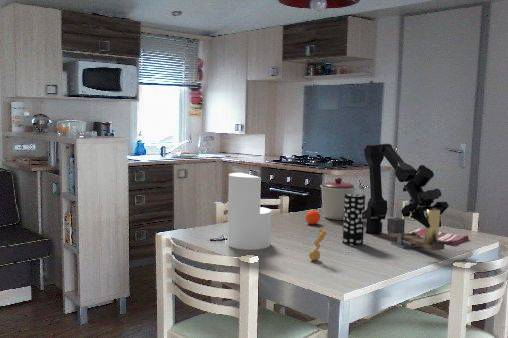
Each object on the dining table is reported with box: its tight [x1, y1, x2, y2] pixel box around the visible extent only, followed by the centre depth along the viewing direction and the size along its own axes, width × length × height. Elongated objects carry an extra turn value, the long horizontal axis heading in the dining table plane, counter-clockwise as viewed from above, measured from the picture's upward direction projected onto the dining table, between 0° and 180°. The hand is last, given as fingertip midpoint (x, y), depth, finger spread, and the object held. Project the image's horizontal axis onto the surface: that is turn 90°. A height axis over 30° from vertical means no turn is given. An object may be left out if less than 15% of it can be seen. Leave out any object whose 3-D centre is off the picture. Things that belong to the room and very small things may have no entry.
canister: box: [319, 176, 357, 221], centre depth 263 cm, size 18×18×21 cm
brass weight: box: [424, 208, 441, 245], centre depth 197 cm, size 5×5×13 cm
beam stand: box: [390, 232, 423, 250], centre depth 211 cm, size 8×10×5 cm
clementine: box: [305, 209, 321, 225], centre depth 248 cm, size 8×7×7 cm
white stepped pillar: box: [227, 172, 272, 251], centre depth 206 cm, size 17×17×28 cm
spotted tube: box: [342, 193, 366, 247], centre depth 212 cm, size 8×8×20 cm
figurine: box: [308, 228, 327, 262], centre depth 185 cm, size 8×6×12 cm
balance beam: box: [386, 217, 446, 251], centre depth 207 cm, size 29×5×7 cm, turn 21°
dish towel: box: [405, 227, 470, 247], centre depth 226 cm, size 17×23×3 cm
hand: (434, 227), depth 196 cm, fingers closed on brass weight, 5 cm apart
